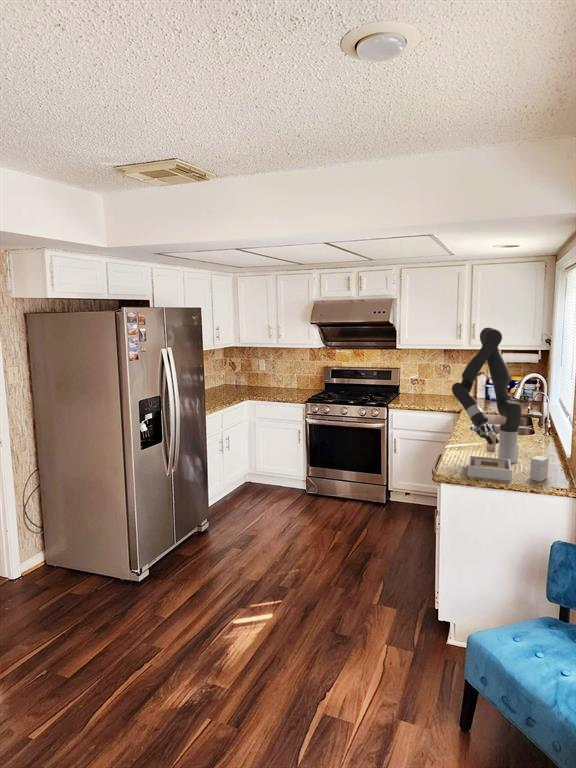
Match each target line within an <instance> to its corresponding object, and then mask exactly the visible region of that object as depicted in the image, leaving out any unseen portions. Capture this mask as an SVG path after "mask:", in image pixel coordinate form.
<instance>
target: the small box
mask: <svg viewBox="0 0 576 768" xmlns="http://www.w3.org/2000/svg"><path fill="white" fill-rule="evenodd" d="M529 469H530V470H529V480H531V481H532V480H533V481H536V482H540V481H541V482H542V481H545V480H546V479H547V478H548V470H549V457H547V456H541V455H535V456H533V457H531V458H530V468H529Z"/></svg>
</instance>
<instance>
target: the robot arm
mask: <svg viewBox="0 0 576 768" xmlns="http://www.w3.org/2000/svg"><path fill="white" fill-rule="evenodd" d="M502 340H503V334H502V332H501V331H500V330H499V329H496V328H492V327H485V328H483V329H482V330H481V332H480V333H479V341H480V344H481V348H480V349H479V351H478V352H477V353H476V355H475V356H473V357H472V358H471V359H470V360H469V362H468V364H467V365H466V366H465V369H464V370H463V371H462V374H461V378H462V380H461V381H460V382H455V383H453V384H452V386H451V392H452V394H453V396H454V397H455V399H456V400H457V401H458V402H459V404H461V406H462V407H463V409H464V411H465V412H466V415H467V416H468V418H469V420H470V421H471V423H472V424H473V426H474V430H473V431H474V432H475V433H476V434H477V435H478V437H480V439H485V441H486V443H487V442H488V443H489V445H491V444H493V441H492V440H491V438H490V437H488V436H489V435H488V433H495V434H496V445H497V444H498V453H497V458H501V459H510V462H511V464H515V463H517V461H518V459H519V449H520V448H519V447H520V446H519V444H518V438H519V437H518V436H519V428H520V426H521V421H522V420H521V419H522V406H521V404H520V403H519V402H517V401H511V400H510V398H509V394H508V387H509V385H510V380H511V376H510V371H509V368H508V365H507V362H506V361H505V359H504V357H503V356H502V353H501V352H500V348H499V346H500V344H501V342H502ZM486 362H487V366H488V369H489V375H490V379H491V382H492V386H493V390H494V394H495V401H496V402H495V403H496V409H497V411H498V414H499V415H500V416H501V417H503V418H506V420H505V422H504V423H501V424H499V432H498V430H497V427H496V424H491V423H489V421H488V420H489V418H488V417H487V415H486V414H485V412H484V410H483V408H482V407H481V405H479V403H478V402H477V400H476V399H475V398H474V397H473V396H472V395H470V393H471V391H472V389H473V385H474V382H475V380H476V378H477V376H478V375H479V373H480V371H481V370H482V368H483V366H484V365H485V363H486ZM498 434H499V435H498ZM497 435H498V436H497Z"/></svg>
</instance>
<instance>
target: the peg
mask: <svg viewBox="0 0 576 768" xmlns="http://www.w3.org/2000/svg"><path fill="white" fill-rule="evenodd" d="M488 435H489V436H488V437H490V438H491V440H492V441H493V444H491V445H489V443H488V442H487V441H486V452H488V453H495V452H496V445H497V444H496V437H497V435H496V434H495V433H488Z"/></svg>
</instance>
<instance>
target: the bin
mask: <svg viewBox="0 0 576 768" xmlns="http://www.w3.org/2000/svg"><path fill="white" fill-rule="evenodd" d="M512 472H513V468H512V463H511V462H510V459H501V458H498V457H488V456H480V455H479V456H478V455H476V456H475V455H469V456H468V465H467V476H466V477H467V478H475V477H478V478H477V479H485V480H496V481H504V482H512V476H513V475H512Z"/></svg>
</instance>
